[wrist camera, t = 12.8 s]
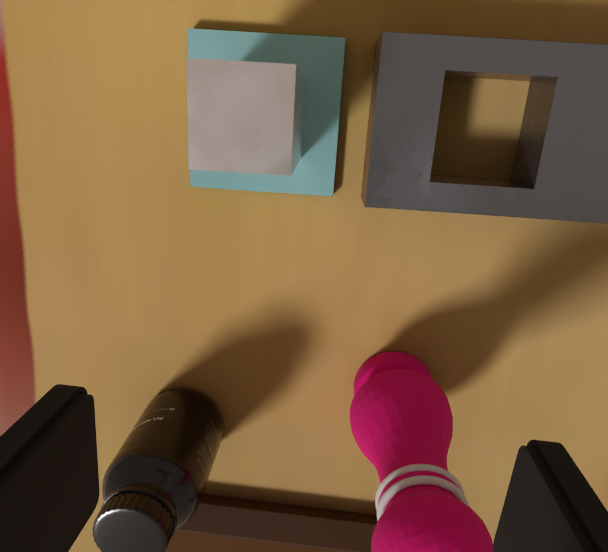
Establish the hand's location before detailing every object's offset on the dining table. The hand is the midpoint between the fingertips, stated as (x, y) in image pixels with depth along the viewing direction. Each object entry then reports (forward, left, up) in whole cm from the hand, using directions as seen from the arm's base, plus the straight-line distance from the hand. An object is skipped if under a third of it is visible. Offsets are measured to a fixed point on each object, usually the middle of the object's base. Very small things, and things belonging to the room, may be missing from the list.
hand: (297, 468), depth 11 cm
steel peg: (+4, -7, -25) cm, 26 cm away
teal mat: (+4, -7, -26) cm, 27 cm away
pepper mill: (-7, +13, -26) cm, 30 cm away
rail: (-13, -7, -26) cm, 30 cm away
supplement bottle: (+10, +18, -26) cm, 33 cm away
